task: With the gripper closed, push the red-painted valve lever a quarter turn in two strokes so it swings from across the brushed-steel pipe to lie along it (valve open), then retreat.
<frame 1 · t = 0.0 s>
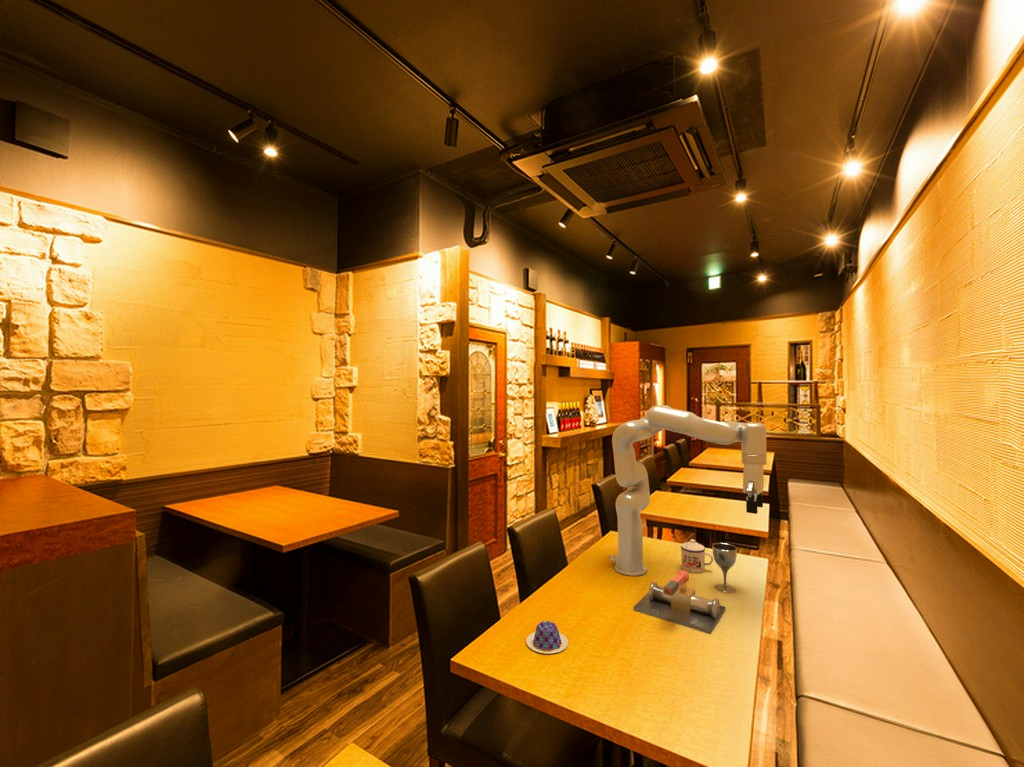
hand: (754, 509, 153), 31 cm above the table, fingers open, 9 cm apart
valve: (683, 609, 148), on the table
teacup with lid: (696, 570, 180), on the table
pudding: (547, 644, 130), on the table
lever: (676, 582, 143), point 11 cm above the table, hinge at 0.0°
wine glass: (725, 588, 163), on the table
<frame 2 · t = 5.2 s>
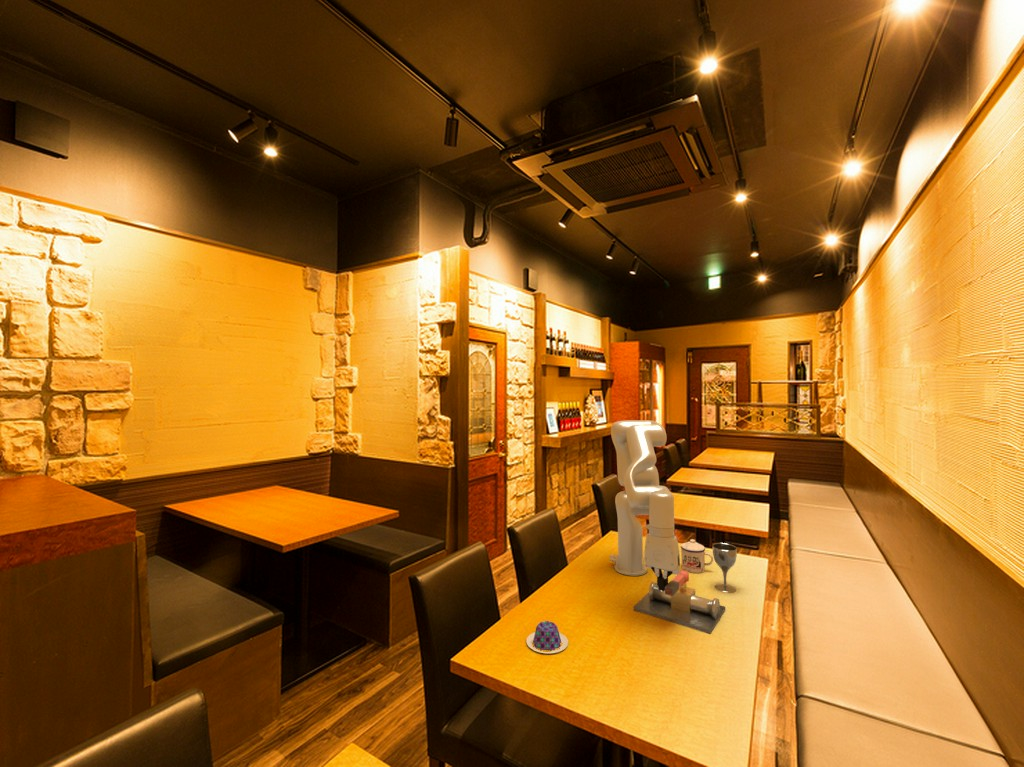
hand: (662, 588, 142), 9 cm above the table, fingers closed
lever: (677, 582, 143), point 11 cm above the table, hinge at 0.9°, touching gripper
everything else where it was.
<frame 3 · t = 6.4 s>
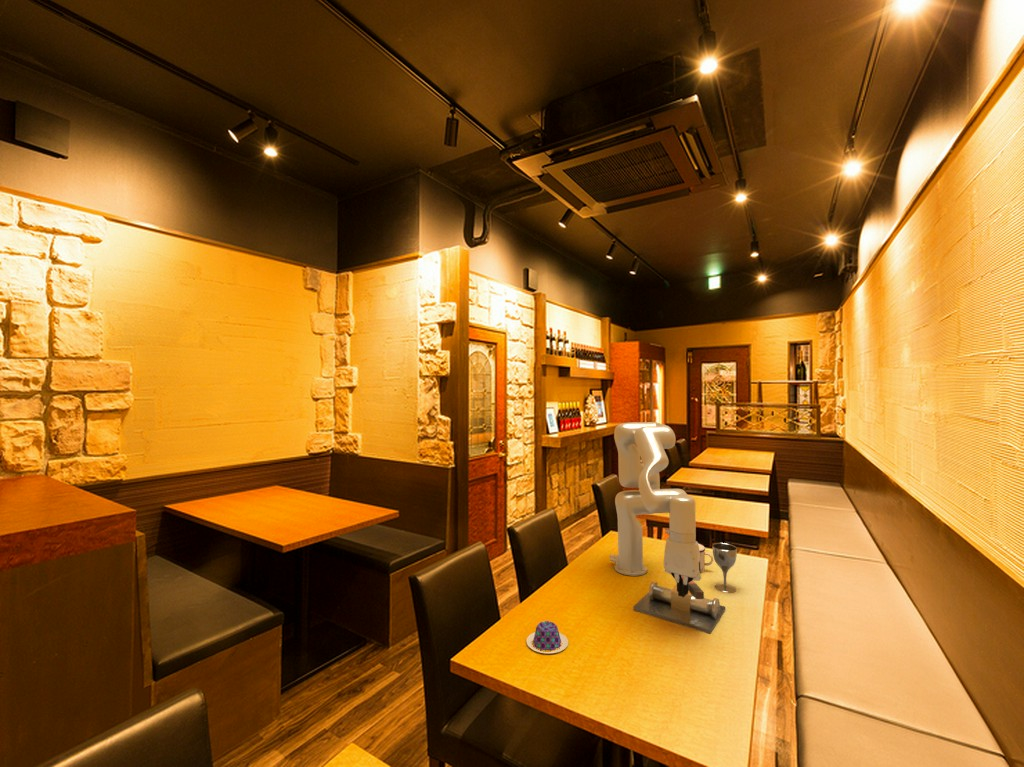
hand: (682, 594, 139), 9 cm above the table, fingers closed
lever: (689, 584, 142), point 11 cm above the table, hinge at 37.2°, touching gripper
everything else where it was.
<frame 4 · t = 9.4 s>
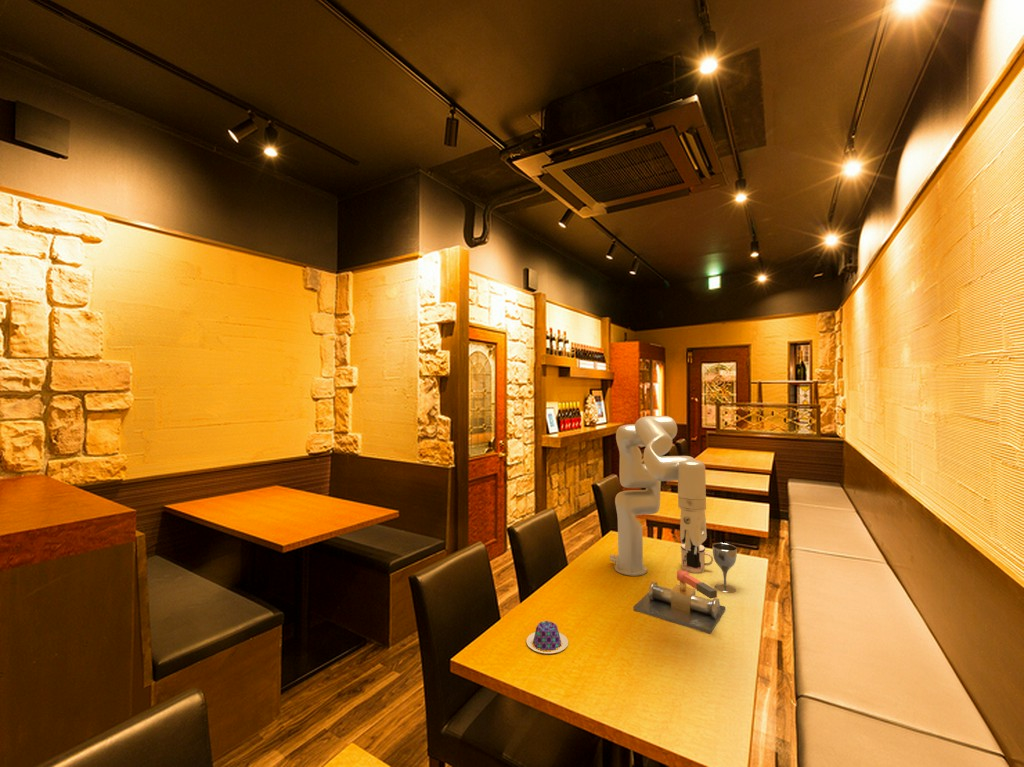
hand: (693, 566, 130), 21 cm above the table, fingers closed
lever: (695, 583, 142), point 11 cm above the table, hinge at 55.4°
everything else where it was.
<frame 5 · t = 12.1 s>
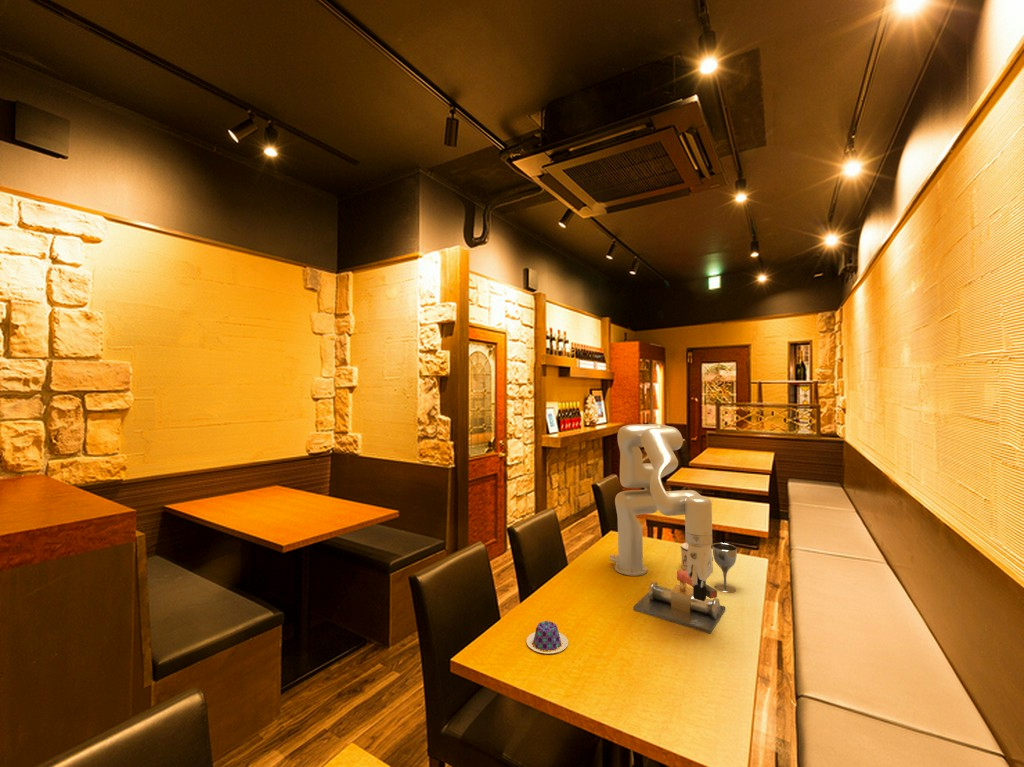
hand: (699, 598, 135), 9 cm above the table, fingers closed
lever: (695, 583, 142), point 11 cm above the table, hinge at 55.5°, touching gripper
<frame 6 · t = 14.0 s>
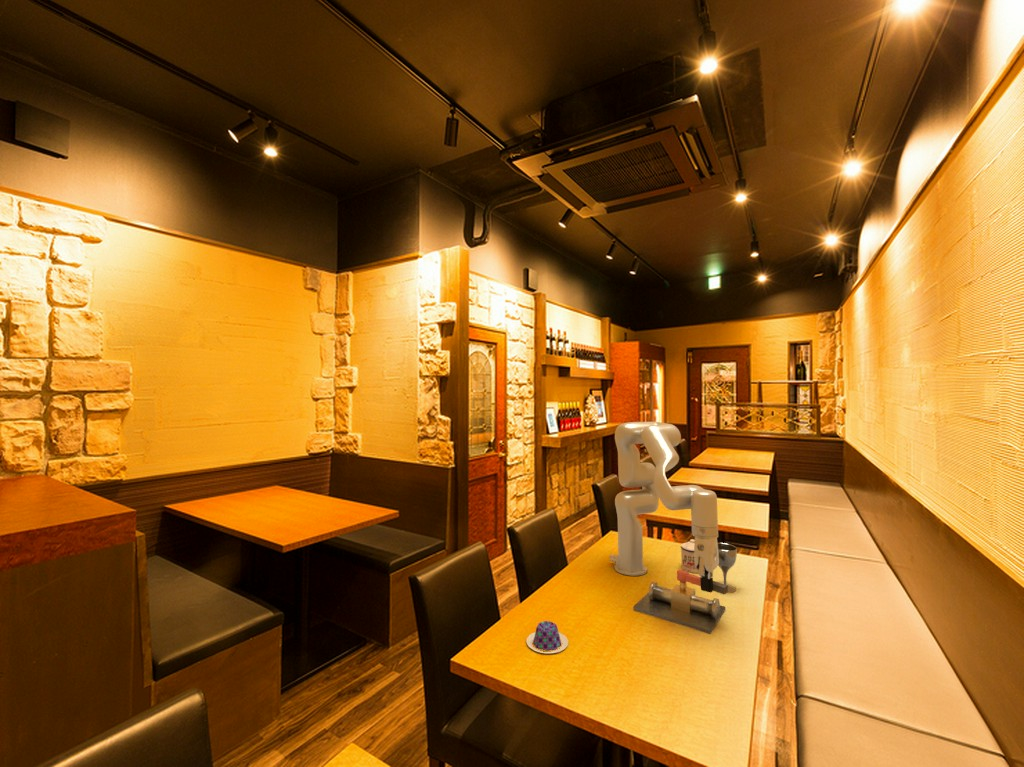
hand: (707, 590, 139), 10 cm above the table, fingers closed
lever: (700, 581, 143), point 11 cm above the table, hinge at 79.7°, touching gripper
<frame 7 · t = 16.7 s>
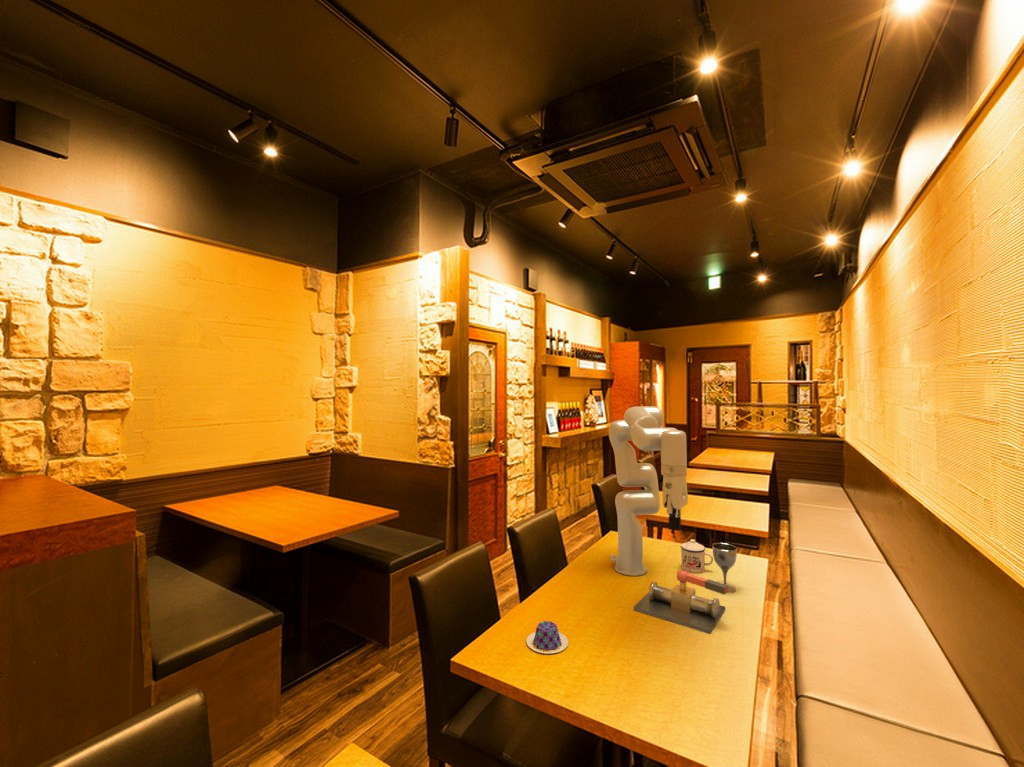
hand: (674, 529, 140), 29 cm above the table, fingers closed
lever: (700, 581, 143), point 11 cm above the table, hinge at 79.7°
at the end: lever at +80° (first picture: +0°); lever touching nothing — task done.
